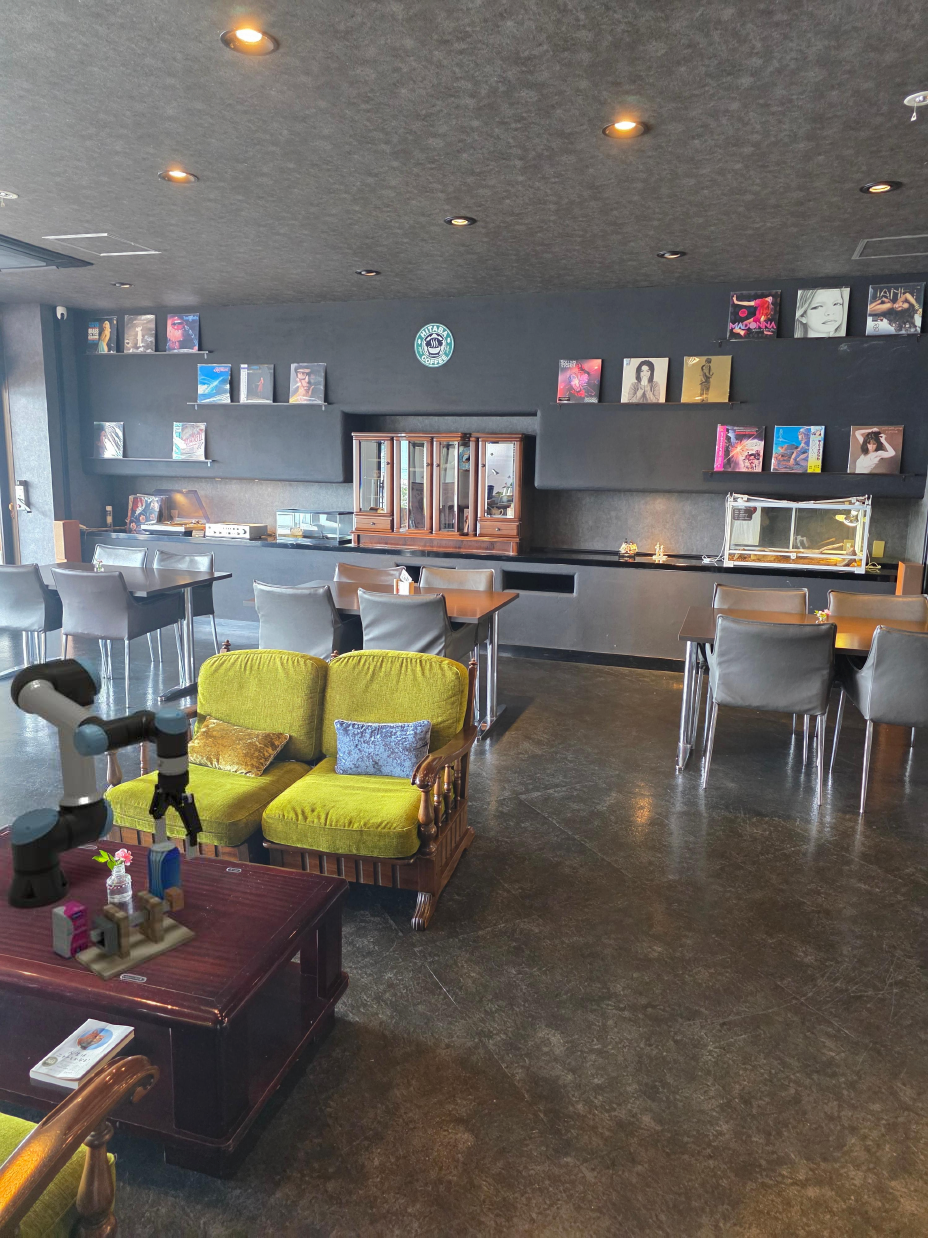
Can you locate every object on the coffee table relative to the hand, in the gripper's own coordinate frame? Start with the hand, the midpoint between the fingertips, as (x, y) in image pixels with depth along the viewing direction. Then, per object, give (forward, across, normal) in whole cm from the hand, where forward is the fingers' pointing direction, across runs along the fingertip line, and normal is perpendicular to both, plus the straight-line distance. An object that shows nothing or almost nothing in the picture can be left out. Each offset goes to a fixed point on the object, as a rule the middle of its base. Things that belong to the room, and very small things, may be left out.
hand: (176, 850), depth 209 cm
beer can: (+22, -16, +6) cm, 28 cm away
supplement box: (+22, -11, -23) cm, 34 cm away
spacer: (+18, 0, -20) cm, 27 cm away
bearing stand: (+22, 0, -12) cm, 25 cm away
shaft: (+15, 0, -11) cm, 19 cm away
